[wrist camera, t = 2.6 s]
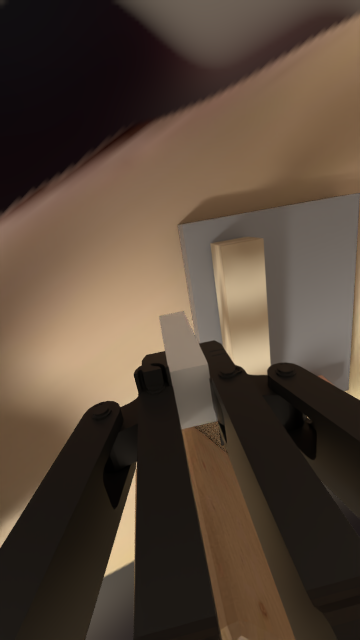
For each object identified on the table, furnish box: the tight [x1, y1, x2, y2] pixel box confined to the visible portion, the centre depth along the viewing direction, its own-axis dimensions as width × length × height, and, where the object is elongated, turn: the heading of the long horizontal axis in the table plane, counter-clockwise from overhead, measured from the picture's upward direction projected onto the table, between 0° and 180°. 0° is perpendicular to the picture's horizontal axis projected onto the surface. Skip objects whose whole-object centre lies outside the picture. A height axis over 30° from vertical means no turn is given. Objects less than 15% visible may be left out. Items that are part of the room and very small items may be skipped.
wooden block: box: [134, 427, 295, 640], centre depth 28 cm, size 10×10×20 cm
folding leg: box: [210, 237, 271, 375], centre depth 26 cm, size 17×4×4 cm, turn 9°
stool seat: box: [178, 193, 360, 421], centre depth 29 cm, size 17×22×6 cm
